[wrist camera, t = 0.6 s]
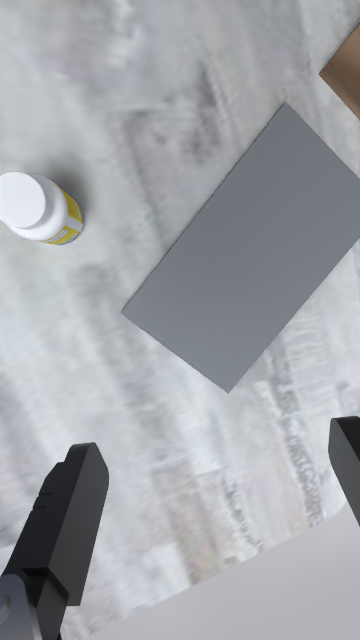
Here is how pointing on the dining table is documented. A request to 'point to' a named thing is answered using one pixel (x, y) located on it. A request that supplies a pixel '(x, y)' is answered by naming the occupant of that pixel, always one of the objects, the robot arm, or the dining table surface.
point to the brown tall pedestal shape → (346, 72)
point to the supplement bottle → (39, 209)
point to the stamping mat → (252, 252)
